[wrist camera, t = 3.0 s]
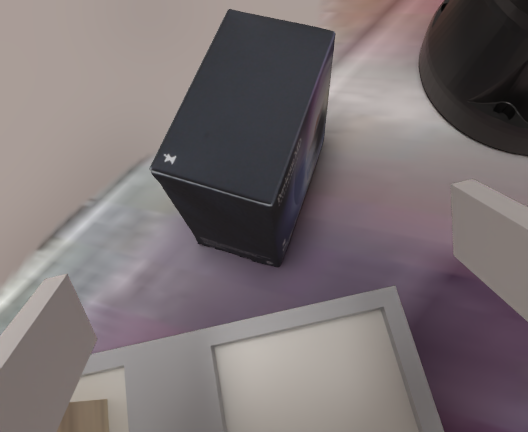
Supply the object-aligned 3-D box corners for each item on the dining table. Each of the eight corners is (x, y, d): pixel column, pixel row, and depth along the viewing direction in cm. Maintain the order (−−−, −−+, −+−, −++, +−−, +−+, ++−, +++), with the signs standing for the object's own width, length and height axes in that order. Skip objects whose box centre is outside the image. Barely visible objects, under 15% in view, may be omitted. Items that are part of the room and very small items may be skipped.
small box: (285, 272, 27) (276, 211, 17) (194, 244, 28) (139, 173, 19) (329, 138, 31) (342, 26, 21) (246, 119, 32) (222, 4, 22)
